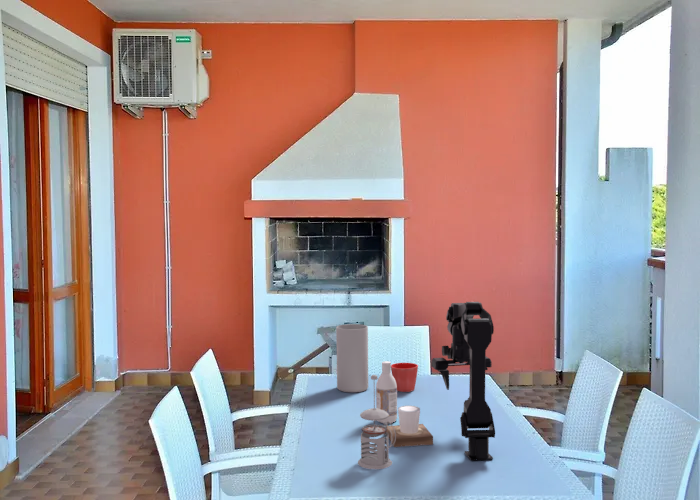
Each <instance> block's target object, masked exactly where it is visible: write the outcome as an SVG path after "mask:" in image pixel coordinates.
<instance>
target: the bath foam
mask: <svg viewBox="0 0 700 500" xmlns="http://www.w3.org/2000/svg"><path fill="white" fill-rule="evenodd" d="M391 365H392V364H391V361H389V360H388V361H387V360H385V361H382V362H381V374H380V375H379V377H377V378H378V379H377V381H376V387H375V390H376V391H375V393H376V394H375V397H376V399H375V403H376V404H375V408H378V409H381V410H384V411H386V412H387V413H388V414H389V416H388V418H386V419H383V420H377V421H376V422H378V423H381V424H384V423H386V424H387V422H390V423H391V424H393V422H394V423H395V421H396V419H397V420H398V391H397V384H396V381H395V379H394V377H393V375H392V371H391ZM396 422H397V421H396ZM390 423H389V424H390Z"/></svg>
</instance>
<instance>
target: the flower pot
mask: <svg viewBox="0 0 700 500" xmlns="http://www.w3.org/2000/svg"><path fill="white" fill-rule="evenodd" d="M418 369H419V365H418V364H416V363H414V362H413V363H412V362H395V363H392V364H391V374H392V375H393V377H394V379H395V381H396V384H397V392H400V393H401V392H402V393H406V392H413V391H415V390H416V389H415V388H416V383H417V378H418V371H419V370H418Z"/></svg>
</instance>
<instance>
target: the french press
mask: <svg viewBox="0 0 700 500" xmlns="http://www.w3.org/2000/svg"><path fill="white" fill-rule="evenodd" d="M378 378H379V377H378V375H376V374H372V375H371V376H370V380H372V381H375V380H377V381H378ZM375 390H376V387H375V382H373V407H372V408H368V409H365V410H363V411H362V412H361V413H360V414H359V417H360V418H361V419H362V420H366V421H370V422H371V421H373V424H368V425H364V426H363V427H362V428H361V431H362V432H361V434H360V447H361V448H360V456H361V457H360V458H359V459H358V461H357V465H358V466H359V467H360V468H361V467H362V468H363V469H368V470H383V469H386V468H389V467H390V466H392V465H393V460H391V459H390V457H389V453H390V451H389V449H390V448H391V447H394V446H393V445H394V443H395V441H396V432H395V429H394V427H393V426H394V425H393V423H390V422H387V423H382V424H383V425H381V424H376V423H375V422H378V421H377V420H383V419H386V418H388V416H389V414H388V413H387V412H386V411H384V410H381V409H378V408H376V404H375V403H376V399H375V397H376V394H375V393H376V391H375ZM389 424H390V425H389ZM387 426H388V428H389V426H392V427H393V429H394V432H395V441H394V443H393V444H392V440H391V441H390V439H389V438H388V433H387V432H386V431H387V428H386V427H387ZM389 429H390V428H389ZM390 432H391V430H390ZM383 435H385V436H383ZM380 436H381V437H380ZM377 437H379V438H377ZM391 439H392V432H391ZM389 442H390V444H389Z"/></svg>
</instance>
